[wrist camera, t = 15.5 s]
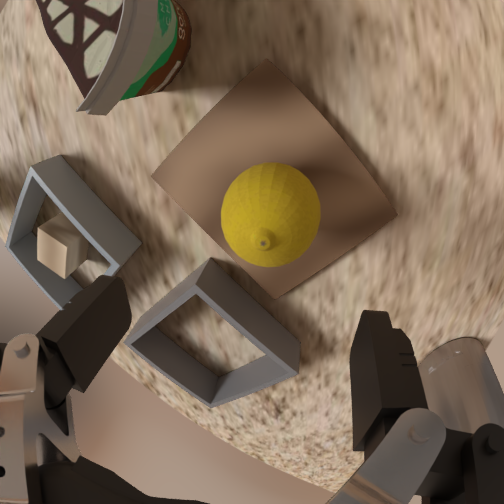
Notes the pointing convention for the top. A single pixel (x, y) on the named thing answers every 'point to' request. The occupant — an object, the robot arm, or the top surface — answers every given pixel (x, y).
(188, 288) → the charcoal bin
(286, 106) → the walnut board
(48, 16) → the food container
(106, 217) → the slate-blue bin
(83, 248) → the birch block
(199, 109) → the top surface
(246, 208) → the lemon
